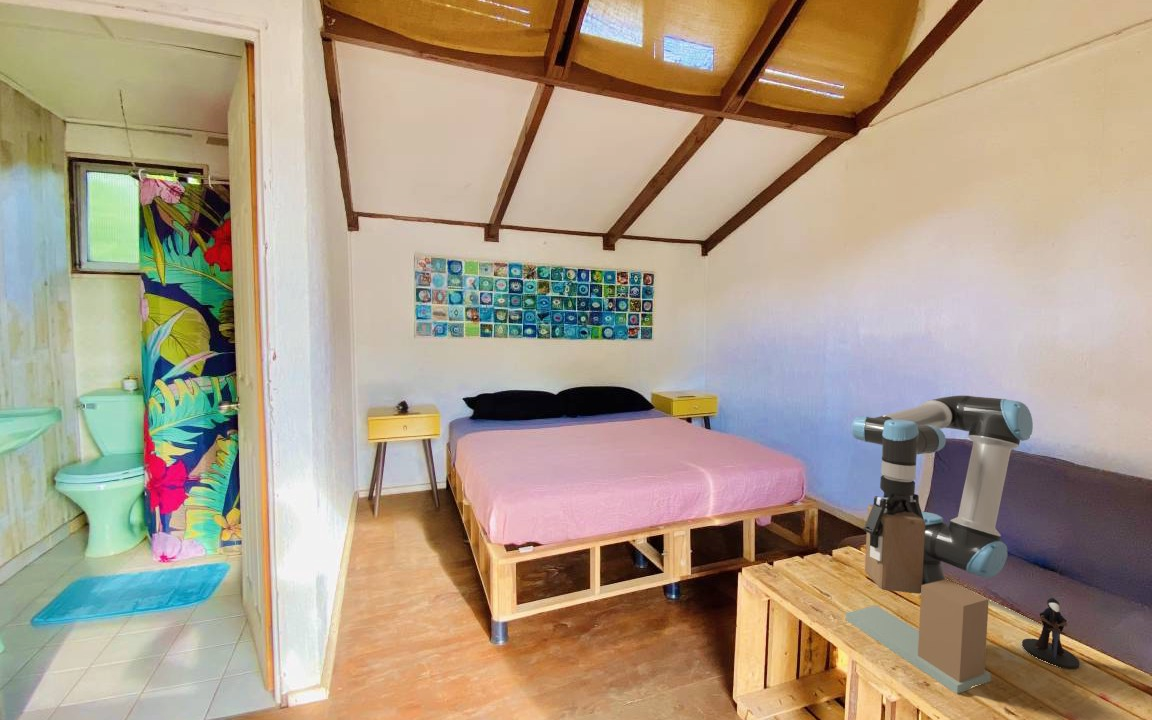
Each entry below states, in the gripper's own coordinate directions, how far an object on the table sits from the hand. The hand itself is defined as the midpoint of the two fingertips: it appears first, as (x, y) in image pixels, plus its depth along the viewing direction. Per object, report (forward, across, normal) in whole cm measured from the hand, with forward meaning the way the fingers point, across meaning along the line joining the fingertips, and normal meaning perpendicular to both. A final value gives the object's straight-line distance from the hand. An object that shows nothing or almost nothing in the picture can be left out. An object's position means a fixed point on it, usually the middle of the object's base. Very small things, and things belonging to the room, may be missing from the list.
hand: (893, 555), depth 119 cm
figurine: (+22, -32, +18) cm, 43 cm away
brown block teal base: (+22, 0, +6) cm, 23 cm away
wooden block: (+8, 0, 0) cm, 8 cm away
